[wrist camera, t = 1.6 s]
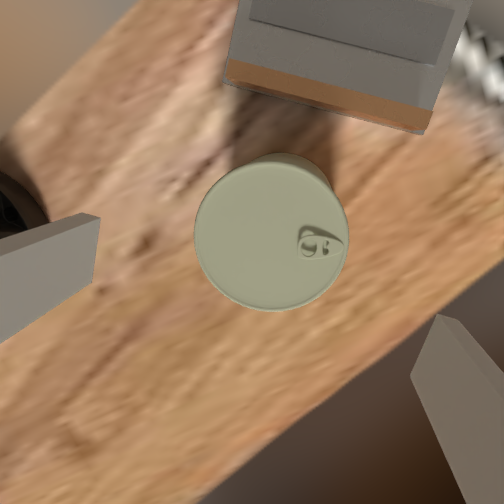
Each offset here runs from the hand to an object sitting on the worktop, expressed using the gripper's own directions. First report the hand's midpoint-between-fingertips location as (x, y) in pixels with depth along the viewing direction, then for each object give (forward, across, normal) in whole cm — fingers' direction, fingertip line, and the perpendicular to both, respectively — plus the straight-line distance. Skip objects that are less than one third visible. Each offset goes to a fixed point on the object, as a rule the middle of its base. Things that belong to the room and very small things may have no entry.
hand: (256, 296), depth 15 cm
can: (+20, 0, 0) cm, 20 cm away
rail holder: (+20, +1, +15) cm, 25 cm away
